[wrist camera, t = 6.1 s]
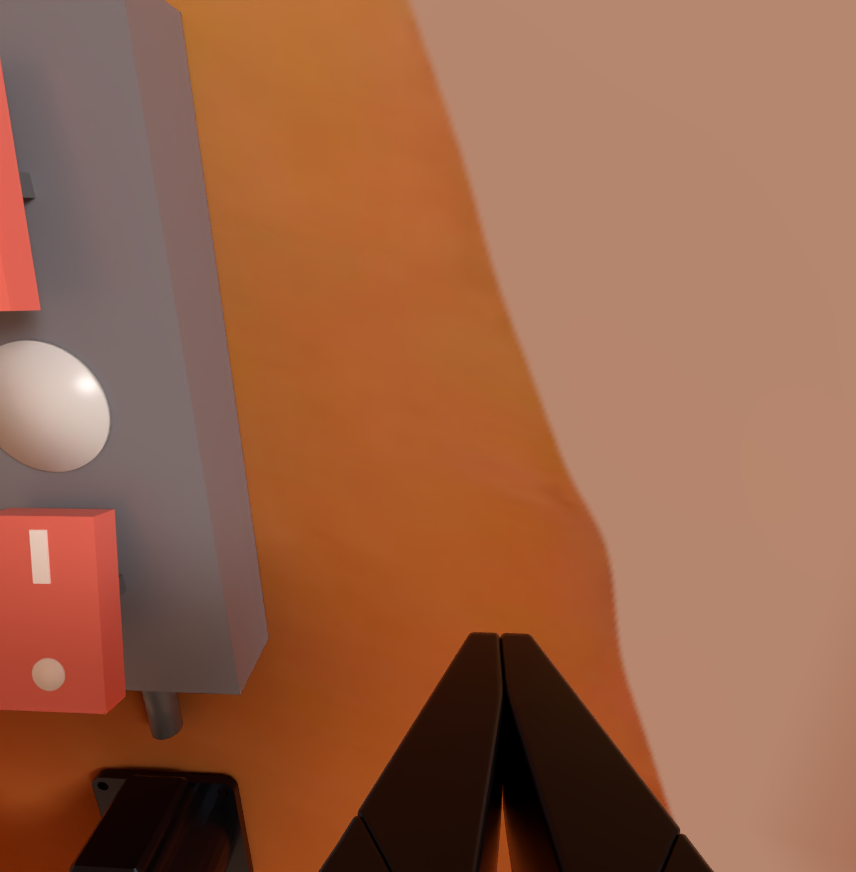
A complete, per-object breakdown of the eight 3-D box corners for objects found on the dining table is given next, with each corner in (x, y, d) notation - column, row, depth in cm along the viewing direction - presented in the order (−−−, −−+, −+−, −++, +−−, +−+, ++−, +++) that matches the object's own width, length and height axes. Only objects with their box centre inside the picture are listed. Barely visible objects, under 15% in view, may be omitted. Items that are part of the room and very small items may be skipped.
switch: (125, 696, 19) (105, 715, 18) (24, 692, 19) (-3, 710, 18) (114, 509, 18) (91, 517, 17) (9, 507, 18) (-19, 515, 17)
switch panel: (279, 716, 25) (248, 794, 21) (76, 708, 25) (15, 782, 22) (180, 11, 16) (103, -44, 13) (-119, 29, 17) (-266, -18, 14)
